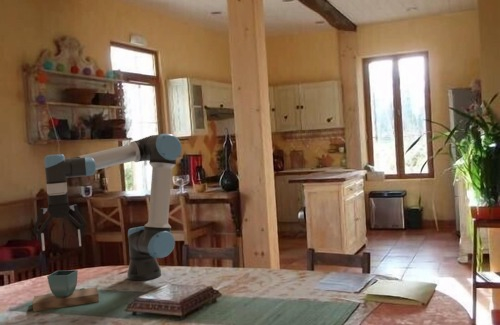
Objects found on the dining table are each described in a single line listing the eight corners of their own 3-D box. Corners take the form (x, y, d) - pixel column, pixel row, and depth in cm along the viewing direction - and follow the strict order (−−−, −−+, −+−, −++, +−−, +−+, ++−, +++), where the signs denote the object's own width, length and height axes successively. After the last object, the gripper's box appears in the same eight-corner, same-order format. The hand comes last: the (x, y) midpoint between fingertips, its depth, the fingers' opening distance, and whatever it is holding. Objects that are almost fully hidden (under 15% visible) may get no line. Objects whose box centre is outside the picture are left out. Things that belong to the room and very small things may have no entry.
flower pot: (70, 298, 216) (68, 274, 215) (48, 298, 217) (46, 275, 217) (80, 292, 224) (78, 269, 224) (59, 292, 226) (57, 270, 225)
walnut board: (97, 294, 231) (96, 287, 231) (99, 301, 219) (98, 293, 219) (34, 303, 223) (34, 296, 223) (33, 311, 212) (32, 303, 212)
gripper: (90, 190, 227) (94, 242, 228) (23, 196, 220) (28, 250, 220) (90, 191, 220) (95, 245, 221) (22, 197, 212) (27, 253, 213)
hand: (62, 248), depth 221 cm, fingers open, 13 cm apart
